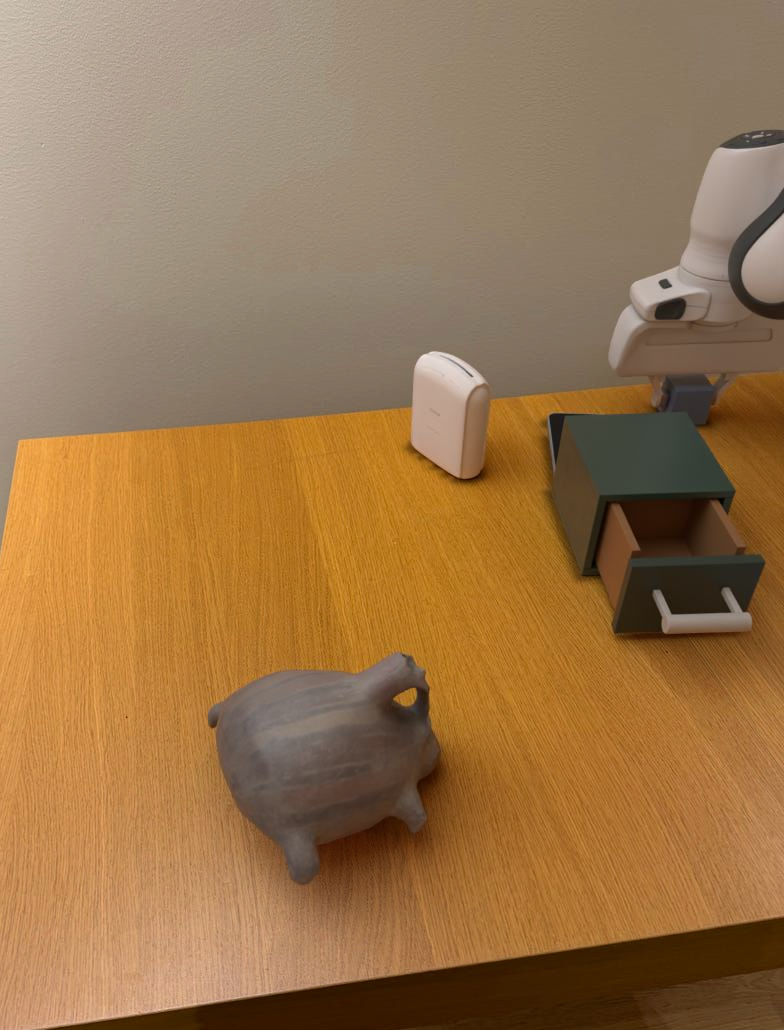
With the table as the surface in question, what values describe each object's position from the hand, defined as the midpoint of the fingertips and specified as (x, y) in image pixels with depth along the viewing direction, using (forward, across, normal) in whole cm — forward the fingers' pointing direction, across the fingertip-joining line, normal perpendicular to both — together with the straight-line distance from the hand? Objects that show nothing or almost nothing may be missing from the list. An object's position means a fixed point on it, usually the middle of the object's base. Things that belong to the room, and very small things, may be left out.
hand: (684, 404), depth 112 cm
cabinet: (+2, +13, +23) cm, 26 cm away
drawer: (+1, +13, +36) cm, 38 cm away
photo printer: (+2, +30, +8) cm, 31 cm away
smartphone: (+2, +14, +8) cm, 16 cm away
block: (+2, 0, 0) cm, 2 cm away
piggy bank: (+2, +45, +57) cm, 73 cm away
